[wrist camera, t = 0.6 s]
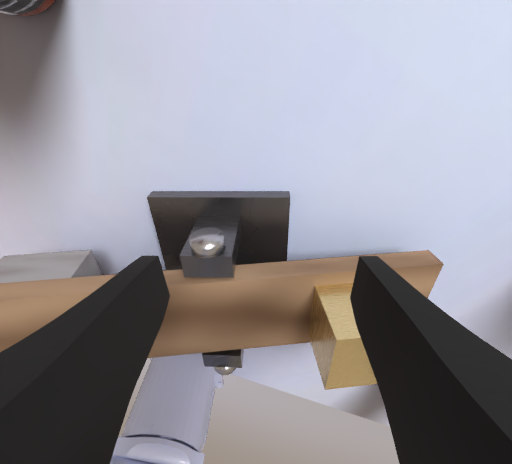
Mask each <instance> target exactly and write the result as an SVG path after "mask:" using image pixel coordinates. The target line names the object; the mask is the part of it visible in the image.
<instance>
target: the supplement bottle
mask: <svg viewBox="0 0 512 464" xmlns="http://www.w3.org/2000/svg"><path fill="white" fill-rule="evenodd" d="M54 2H55V0H0V13H5V14H12V15H21V16H30V15H35V14H39V13H41V12H43V11H45V10H46V9H47V8H49V7H50V6H51V5H52V4H53V3H54Z"/></svg>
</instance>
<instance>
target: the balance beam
mask: <svg viewBox="0 0 512 464" xmlns="http://www.w3.org/2000/svg"><path fill="white" fill-rule="evenodd" d="M361 256H378V257H379V258H380V259H382V260H383V261H384V262H385V263H386V264H387V265H389V266H390V267H391V268H392V269H393V270H394V271H396V272H397V273H398V274H399V275H400V276H401V277H402V278H404V279H405V280H406V281H407V282H408V283H409V284H411V285H412V286H413V287H414V288H415V289H417V290H418V291H419V292H420V293H421V294H423V295H424V296H425V297H426V298H428V296H429V294H430V292H431V290H432V287H433V285H434V283H435V281H436V279H437V277H438V275H439V273H440V271H441V268H442V266H443V263H442V262H441V261H440V260H439V259H438V258H437V257H435V256H434V255H433V254H432V253H431V252H430V251H429V250H426V251H413V252H400V253H387V254H374V255H361ZM358 259H359V256H348V257H335V258H322V259H309V260H296V261H283V262H270V263H257V264H244V265H236V267H235V273H234V278H221V277H184V274H183V269H179V270H166V271H163V274H164V277H165V280H166V284H167V287H168V290H169V294H170V298H169V302H168V306H167V310H166V313H165V316H164V320H163V322H162V325H161V327H160V330H159V332H158V334H157V337H156V339H155V341H154V344H153V346H152V348H151V351H150V353H149V355H148V357H147V358H155V357H165V356H175V355H185V354H195V353H205V352H216V351H226V350H236V349H246V348H256V347H266V346H276V345H286V344H297V343H307V342H311V341H310V338H309V335H308V333H309V326H310V319H311V311H312V304H313V297H314V289H315V286H319V285H331V284H343V283H353V282H354V277H355V273H356V268H357V264H358ZM115 275H117V274H114V275H102V273H101V271H100V268H99V266H98V264H97V262H96V259H95V257H94V255H93V253H92V251H91V250H83V251H69V252H55V253H40V254H26V255H12V256H4V257H3V258H2V259H1V260H0V352H1V351H3V350H5V349H7V348H9V347H10V346H12V345H14V344H16V343H17V342H19V341H21V340H22V339H24V338H25V337H27V336H29V335H30V334H32V333H34V332H35V331H37V330H39V329H40V328H42V327H43V326H45V325H46V324H48V323H50V322H51V321H53V320H54V319H56V318H57V317H59V316H60V315H61V314H63V313H64V312H66V311H67V310H69V309H70V308H71V307H73V306H74V305H76V304H77V303H79V302H80V301H81V300H83V299H84V298H86V297H87V296H89V295H90V294H91V293H93V292H94V291H95V290H97V289H98V288H99V287H101V286H102V285H103V284H105V283H106V282H107V281H109V280H110V279H111V278H113V277H114V276H115Z"/></svg>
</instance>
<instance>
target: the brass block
mask: <svg viewBox="0 0 512 464" xmlns="http://www.w3.org/2000/svg"><path fill="white" fill-rule="evenodd" d="M352 287H353V283H343V284H331V285H319V286H315V289H314V297H313V304H312V311H311V319H310V326H309V333H308V335H309V338H310V341H311V345H312V348H313V351H314V355H315V358H316V361H317V365H318V368H319V371H320V375H321V378H322V381H323V384H324V388H325V390H326V389H335V388H344V387H353V386H362V385H371V384H377V381H376V378H375V376H374V373H373V370H372V367H371V365H370V362H369V359H368V356H367V354H366V351H365V348H364V345H363V343H362V340H361V337H360V334H359V331H358V329H357V326H356V322H355V318H354V314H353V309H352V304H351V300H350V296H351V291H352Z"/></svg>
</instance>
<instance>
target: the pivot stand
mask: <svg viewBox="0 0 512 464" xmlns="http://www.w3.org/2000/svg"><path fill="white" fill-rule="evenodd" d="M147 199H148V203H149V206H150V210H151V214H152V217H153V221H154V225H155V229H156V232H157V236H158V240H159V243H160V247H161V251H162V255H163V258H164V262H165V266H166V269H167V270H179V269H183V274H184V277H221V278H234V273H235V267H236V265H244V264H257V263H270V262H283V261H287V245H288V227H289V208H290V193H289V191H152V193H151V194H150V195H149V196H148V197H147ZM243 350H244V349H236V350H226V351H216V352H205V353H202V357H203V362H204V366H205V367H214V369H215V371H216V372H217V373H218V374H220V375H228V374H230V373H232V372H233V371H234V370H235V369H236V368H242V361H243Z"/></svg>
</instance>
